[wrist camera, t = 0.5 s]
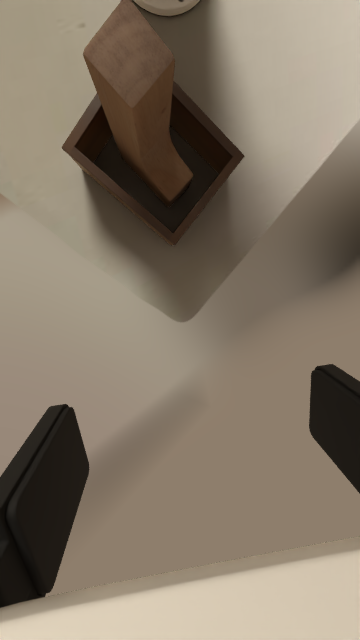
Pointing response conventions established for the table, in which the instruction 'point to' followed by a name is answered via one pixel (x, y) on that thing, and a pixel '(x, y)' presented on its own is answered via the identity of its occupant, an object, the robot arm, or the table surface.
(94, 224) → the table surface
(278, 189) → the table surface
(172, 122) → the wooden box
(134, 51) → the wooden block
